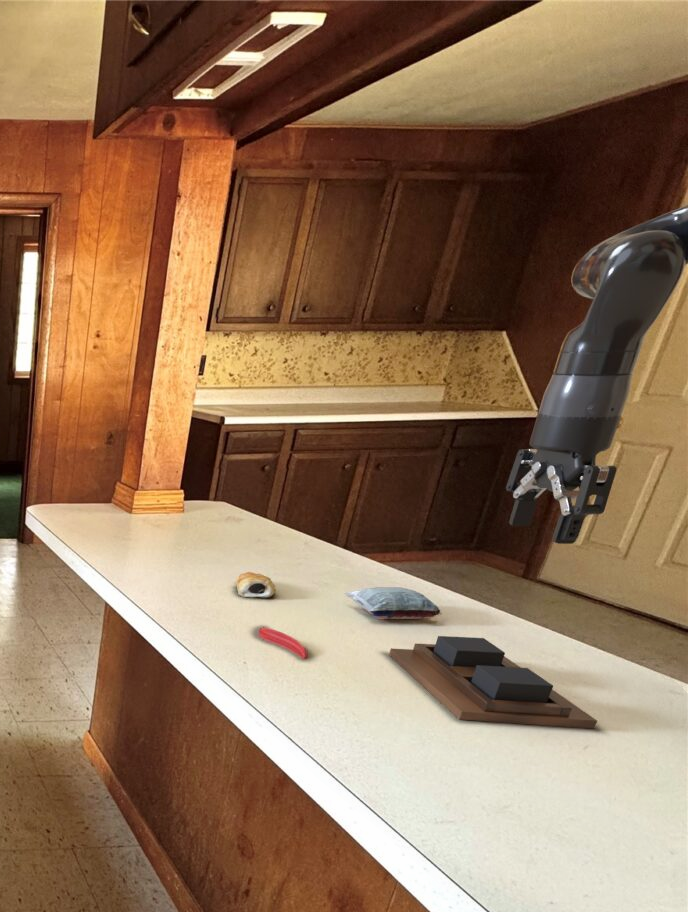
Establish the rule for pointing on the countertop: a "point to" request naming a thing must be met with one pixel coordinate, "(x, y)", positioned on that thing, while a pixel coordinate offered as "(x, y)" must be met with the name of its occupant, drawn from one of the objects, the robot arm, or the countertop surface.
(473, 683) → the dark grey block
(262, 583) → the pastry
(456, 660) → the dark gray block
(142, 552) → the countertop surface
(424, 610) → the packaged food
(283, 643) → the cayenne pepper
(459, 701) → the brown base tray
